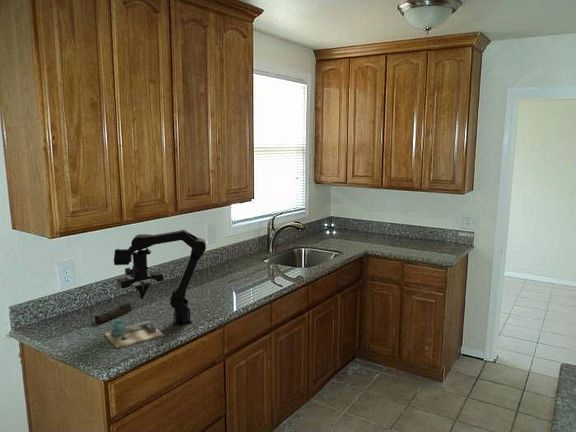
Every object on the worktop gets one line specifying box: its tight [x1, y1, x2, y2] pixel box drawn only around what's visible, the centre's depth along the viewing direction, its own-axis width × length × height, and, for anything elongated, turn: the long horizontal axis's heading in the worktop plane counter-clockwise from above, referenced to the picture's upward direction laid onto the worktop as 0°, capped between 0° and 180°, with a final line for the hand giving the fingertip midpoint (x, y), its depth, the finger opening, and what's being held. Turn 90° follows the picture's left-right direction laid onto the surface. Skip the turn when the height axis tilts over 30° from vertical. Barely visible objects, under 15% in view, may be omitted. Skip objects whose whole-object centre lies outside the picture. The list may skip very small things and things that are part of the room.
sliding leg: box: [110, 318, 127, 339], centre depth 185 cm, size 4×9×5 cm, turn 38°
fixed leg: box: [145, 322, 157, 333], centre depth 191 cm, size 2×6×4 cm, turn 38°
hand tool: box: [94, 302, 133, 325], centre depth 206 cm, size 19×4×5 cm, turn 147°
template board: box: [104, 327, 164, 349], centre depth 187 cm, size 19×15×1 cm
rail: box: [108, 320, 152, 337], centre depth 190 cm, size 17×2×2 cm, turn 128°
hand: (141, 298), depth 197 cm, fingers closed
